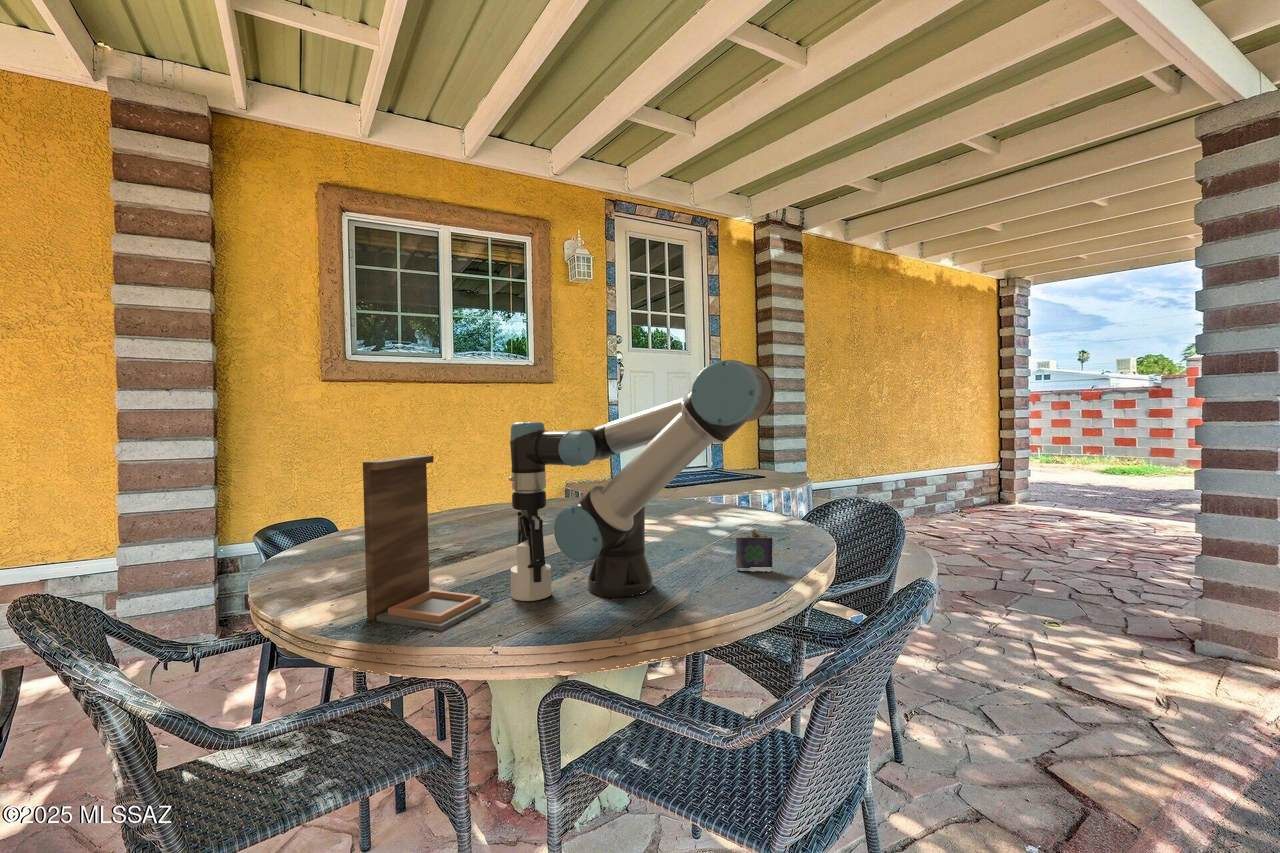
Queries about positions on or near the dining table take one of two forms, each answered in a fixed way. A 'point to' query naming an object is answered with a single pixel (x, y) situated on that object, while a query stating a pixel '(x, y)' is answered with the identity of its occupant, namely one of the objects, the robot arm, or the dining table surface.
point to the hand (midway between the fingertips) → (531, 589)
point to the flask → (753, 550)
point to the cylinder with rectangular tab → (527, 576)
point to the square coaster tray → (434, 609)
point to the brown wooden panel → (395, 531)
